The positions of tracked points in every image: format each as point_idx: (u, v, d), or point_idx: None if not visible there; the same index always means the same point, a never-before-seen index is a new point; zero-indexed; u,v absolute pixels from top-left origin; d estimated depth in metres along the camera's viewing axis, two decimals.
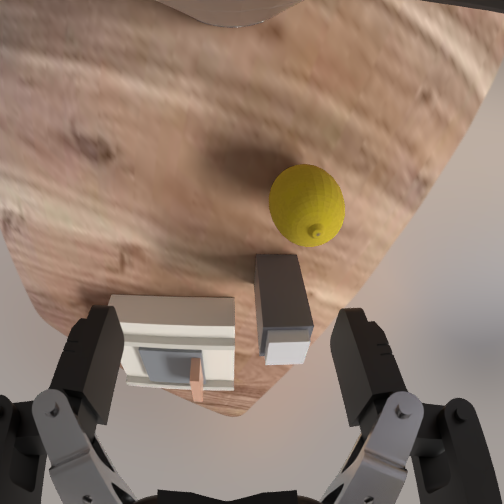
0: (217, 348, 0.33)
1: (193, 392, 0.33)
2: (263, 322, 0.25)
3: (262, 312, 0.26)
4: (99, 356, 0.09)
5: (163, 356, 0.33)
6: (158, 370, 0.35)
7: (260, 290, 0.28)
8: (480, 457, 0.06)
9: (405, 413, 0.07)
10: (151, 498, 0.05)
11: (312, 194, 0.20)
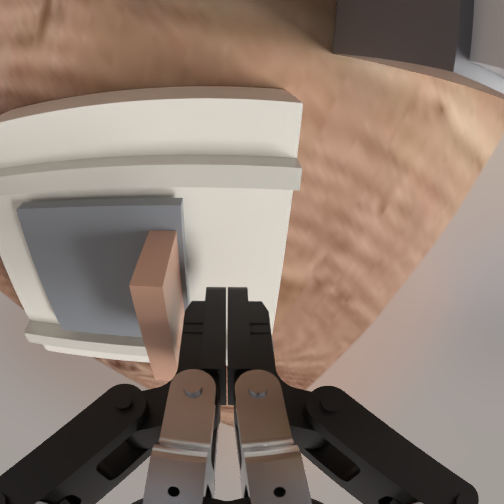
0: (246, 180, 0.10)
1: (149, 341, 0.10)
2: None
3: None
4: (225, 335, 0.10)
5: (74, 229, 0.11)
6: (70, 290, 0.13)
7: None
8: (378, 434, 0.07)
9: (260, 392, 0.08)
10: None
11: None
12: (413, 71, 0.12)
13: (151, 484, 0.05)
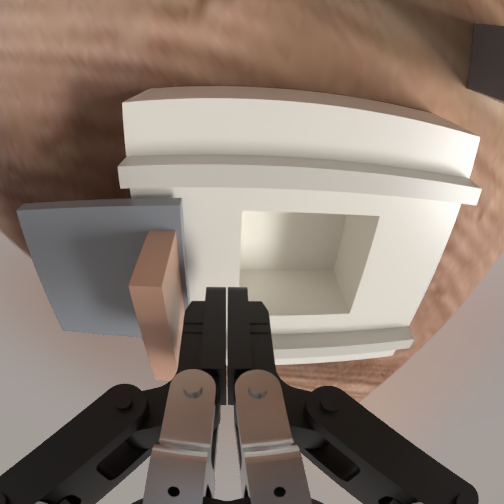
0: (448, 195, 0.11)
1: (149, 341, 0.10)
2: None
3: None
4: (225, 335, 0.10)
5: (74, 230, 0.11)
6: (71, 291, 0.13)
7: None
8: (378, 434, 0.07)
9: (260, 392, 0.08)
10: None
11: None
12: None
13: (151, 484, 0.05)
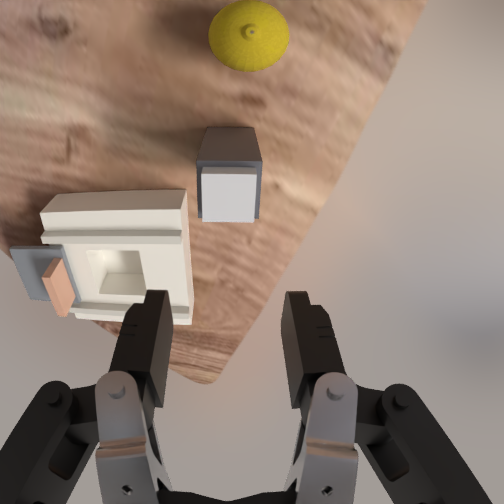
0: (160, 241, 0.27)
1: (51, 297, 0.26)
2: (198, 158, 0.19)
3: (199, 153, 0.20)
4: (159, 338, 0.10)
5: (30, 257, 0.27)
6: (32, 280, 0.29)
7: (203, 142, 0.22)
8: (435, 439, 0.06)
9: (337, 394, 0.08)
10: None
11: (246, 3, 0.15)
12: None
13: (105, 488, 0.05)
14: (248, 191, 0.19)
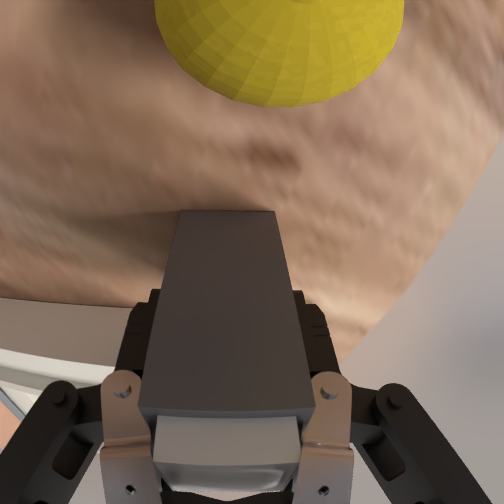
0: None
1: None
2: (143, 388, 0.07)
3: (149, 353, 0.08)
4: None
5: None
6: None
7: (163, 288, 0.10)
8: (431, 438, 0.06)
9: (331, 393, 0.08)
10: None
11: None
12: None
13: (108, 487, 0.05)
14: (276, 475, 0.06)
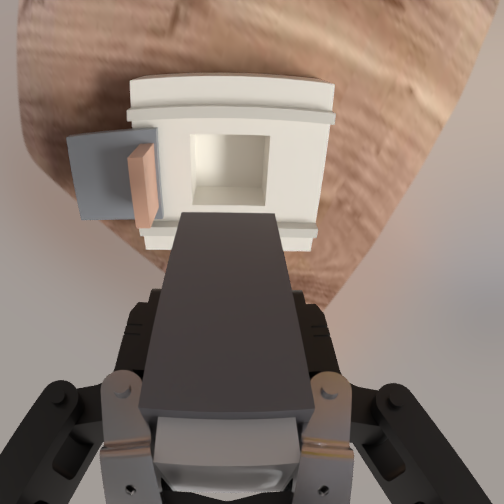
0: (309, 118, 0.20)
1: (134, 194, 0.19)
2: (144, 390, 0.07)
3: (150, 355, 0.08)
4: None
5: (99, 146, 0.20)
6: (91, 187, 0.22)
7: (164, 290, 0.10)
8: (431, 438, 0.06)
9: (331, 393, 0.08)
10: None
11: None
12: None
13: (108, 487, 0.05)
14: (276, 475, 0.06)
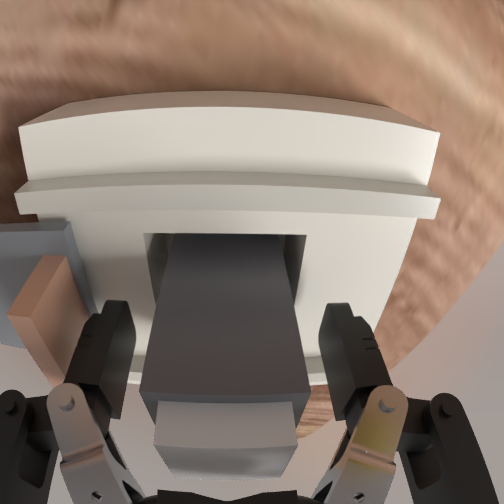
0: (393, 208, 0.09)
1: (42, 366, 0.09)
2: (145, 374, 0.07)
3: (151, 341, 0.08)
4: (114, 351, 0.09)
5: None
6: None
7: (165, 280, 0.10)
8: (470, 451, 0.06)
9: (389, 407, 0.07)
10: (151, 498, 0.05)
11: None
12: None
13: (76, 498, 0.04)
14: (273, 460, 0.07)
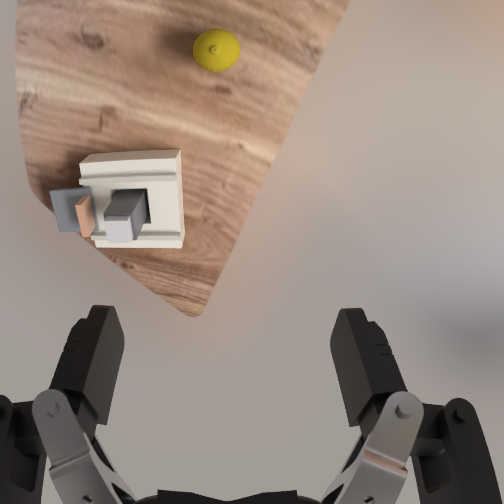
0: (162, 179, 0.40)
1: (80, 221, 0.40)
2: None
3: (107, 208, 0.39)
4: (100, 357, 0.09)
5: (65, 196, 0.40)
6: (63, 215, 0.42)
7: (113, 199, 0.41)
8: (480, 457, 0.06)
9: (405, 413, 0.07)
10: (151, 498, 0.05)
11: (212, 32, 0.29)
12: None
13: (68, 503, 0.04)
14: (125, 228, 0.38)
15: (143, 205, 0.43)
